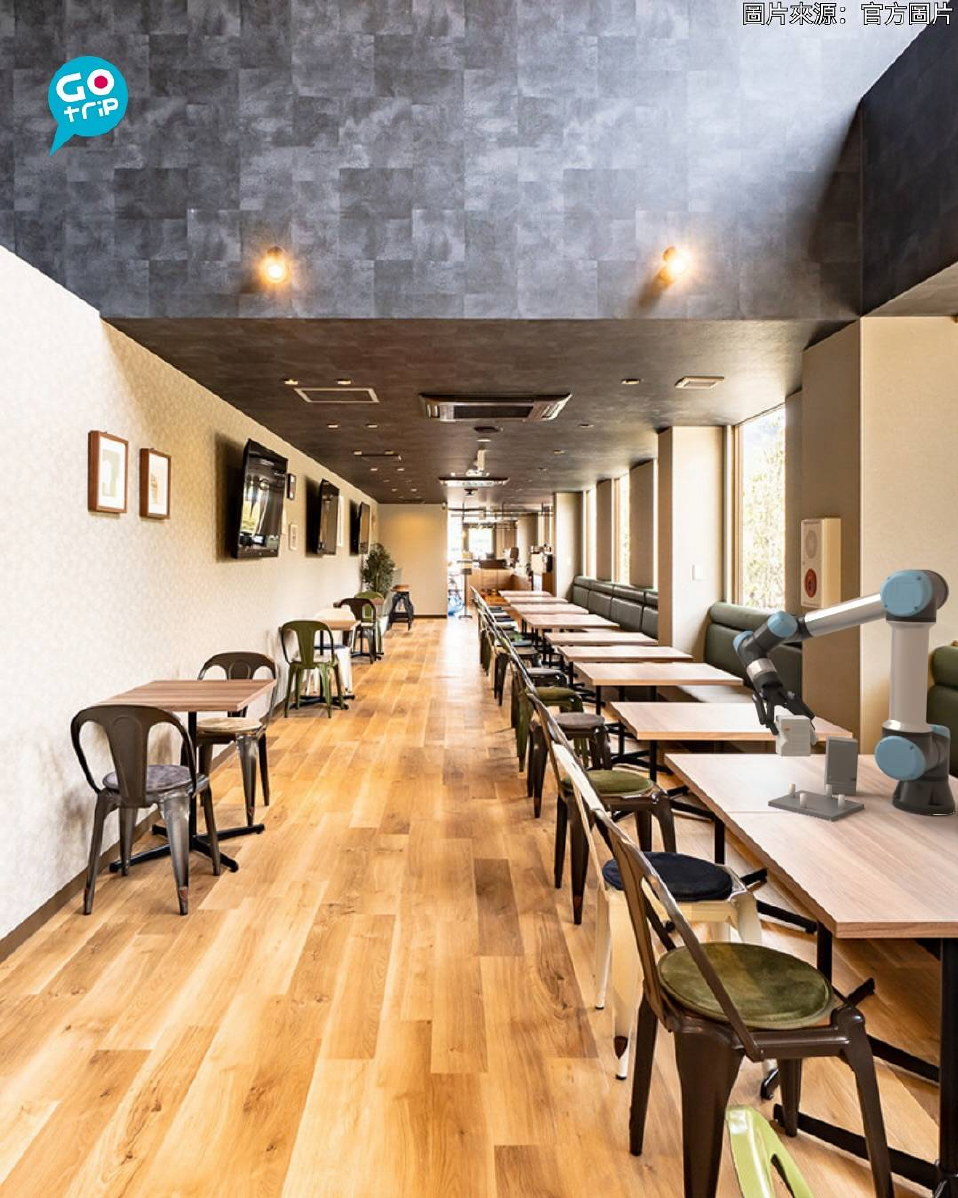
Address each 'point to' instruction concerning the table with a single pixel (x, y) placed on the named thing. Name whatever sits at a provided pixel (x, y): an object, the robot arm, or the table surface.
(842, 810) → the pin tray
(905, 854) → the table surface
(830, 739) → the skincare box
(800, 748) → the small box
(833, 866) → the table surface
